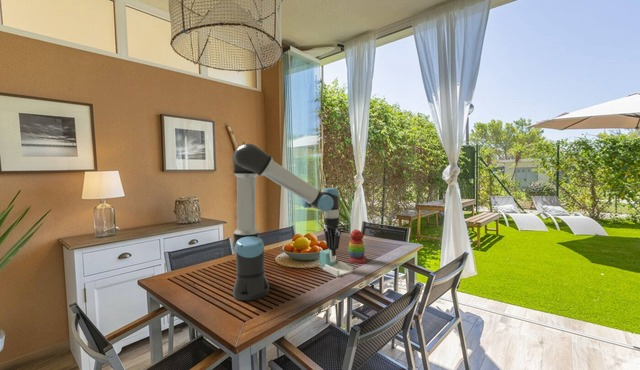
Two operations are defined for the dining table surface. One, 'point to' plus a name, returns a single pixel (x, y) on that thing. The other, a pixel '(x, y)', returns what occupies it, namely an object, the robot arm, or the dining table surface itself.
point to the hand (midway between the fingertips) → (332, 261)
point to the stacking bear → (356, 248)
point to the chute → (338, 268)
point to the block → (325, 258)
